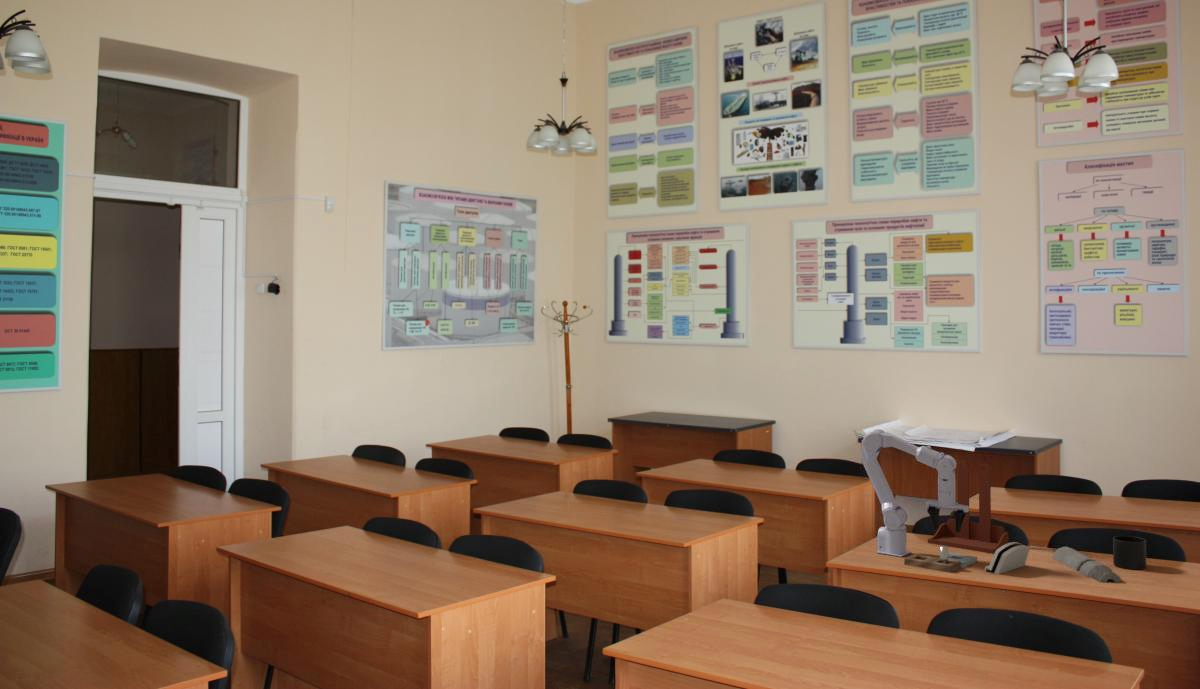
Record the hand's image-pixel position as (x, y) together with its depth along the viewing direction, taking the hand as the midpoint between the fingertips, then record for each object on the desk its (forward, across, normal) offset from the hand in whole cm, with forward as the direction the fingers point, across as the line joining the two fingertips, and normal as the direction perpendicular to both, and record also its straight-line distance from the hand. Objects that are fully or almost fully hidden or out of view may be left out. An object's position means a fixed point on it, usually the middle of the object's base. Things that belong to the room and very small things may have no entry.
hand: (947, 530), depth 323 cm
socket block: (+10, -4, +2) cm, 11 cm away
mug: (+10, -48, -29) cm, 57 cm away
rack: (+10, 0, +12) cm, 16 cm away
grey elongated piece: (+11, -40, -15) cm, 44 cm away
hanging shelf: (+10, +3, -24) cm, 26 cm away
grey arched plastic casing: (+10, -21, 0) cm, 23 cm away
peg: (+10, -4, +12) cm, 16 cm away
